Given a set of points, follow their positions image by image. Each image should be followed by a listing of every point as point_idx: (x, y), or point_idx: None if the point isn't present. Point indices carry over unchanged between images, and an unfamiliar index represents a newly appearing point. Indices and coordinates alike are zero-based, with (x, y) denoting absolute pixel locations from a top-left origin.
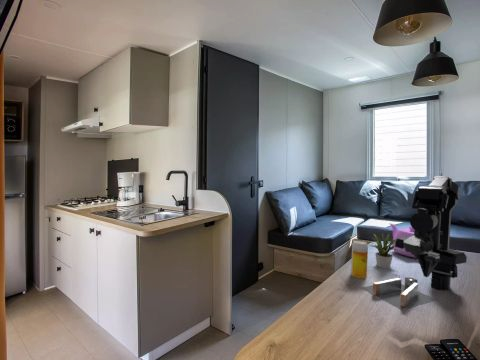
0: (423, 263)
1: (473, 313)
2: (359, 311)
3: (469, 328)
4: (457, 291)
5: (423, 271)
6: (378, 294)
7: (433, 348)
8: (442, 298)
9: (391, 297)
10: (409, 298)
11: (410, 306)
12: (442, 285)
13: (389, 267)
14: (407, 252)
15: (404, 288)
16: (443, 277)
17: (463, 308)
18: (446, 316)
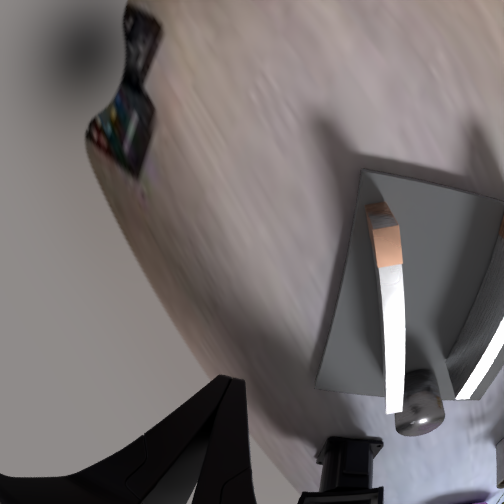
0: (197, 489)
1: None
2: (457, 10)
3: (165, 286)
4: (312, 463)
5: (229, 410)
6: (501, 226)
7: (138, 39)
8: (320, 414)
9: (453, 258)
10: (378, 287)
11: (356, 247)
12: (336, 460)
13: (497, 450)
14: None
15: (436, 377)
16: (331, 485)
17: (250, 397)
18: (244, 308)
